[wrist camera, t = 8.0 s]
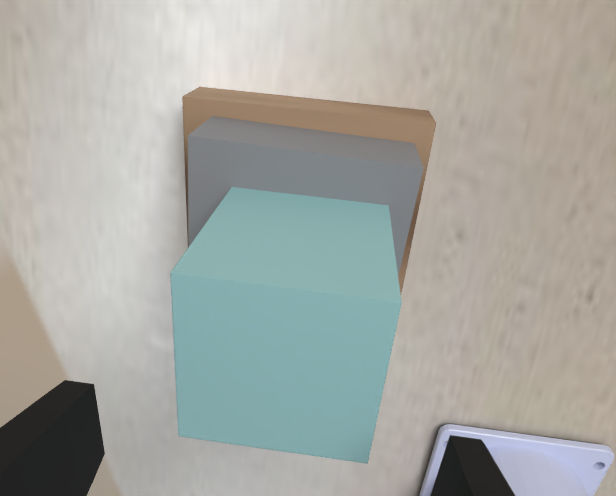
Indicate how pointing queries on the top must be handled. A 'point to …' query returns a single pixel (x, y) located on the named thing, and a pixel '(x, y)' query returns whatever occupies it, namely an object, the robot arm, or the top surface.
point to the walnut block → (316, 125)
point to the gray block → (300, 169)
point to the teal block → (286, 324)
